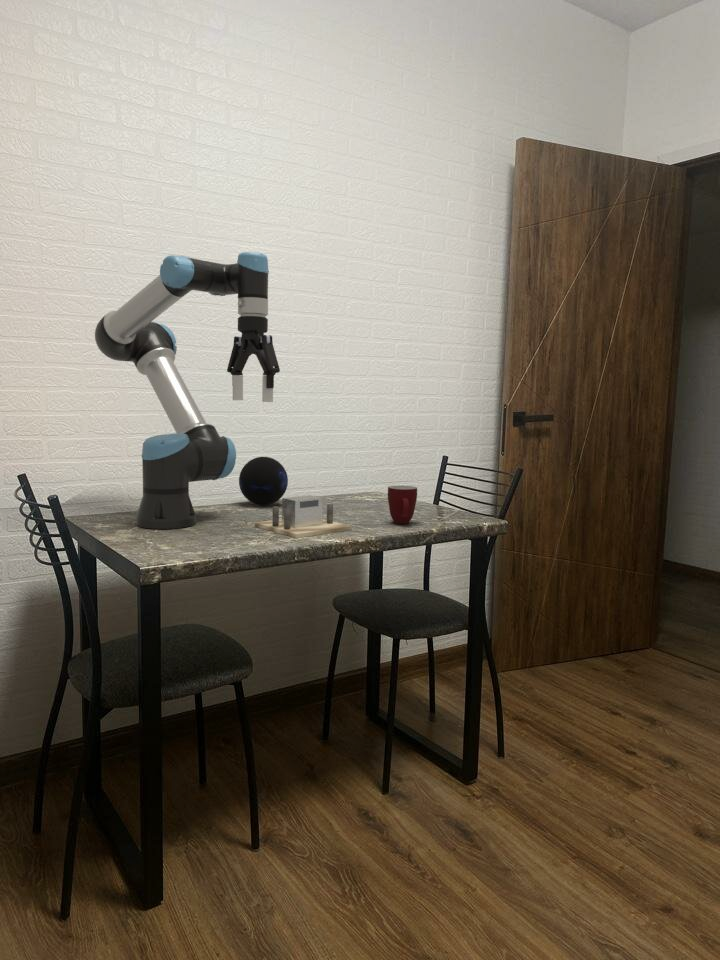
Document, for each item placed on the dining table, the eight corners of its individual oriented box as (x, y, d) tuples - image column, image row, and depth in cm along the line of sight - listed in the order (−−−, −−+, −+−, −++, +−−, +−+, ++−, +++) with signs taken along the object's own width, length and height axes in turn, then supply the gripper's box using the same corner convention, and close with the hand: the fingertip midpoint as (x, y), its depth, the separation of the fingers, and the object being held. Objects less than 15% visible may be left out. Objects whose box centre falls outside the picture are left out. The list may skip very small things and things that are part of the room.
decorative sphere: (288, 508, 221) (289, 459, 219) (238, 508, 219) (238, 458, 217) (286, 501, 236) (287, 454, 234) (239, 501, 234) (239, 454, 232)
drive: (282, 524, 190) (282, 498, 189) (309, 521, 196) (309, 495, 195) (295, 528, 186) (295, 500, 185) (322, 524, 192) (322, 497, 191)
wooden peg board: (254, 526, 192) (254, 503, 191) (308, 519, 204) (309, 498, 203) (296, 538, 179) (296, 513, 178) (351, 529, 191) (352, 507, 190)
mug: (423, 527, 197) (424, 490, 195) (394, 528, 195) (395, 490, 193) (410, 520, 207) (411, 485, 205) (383, 521, 205) (384, 485, 203)
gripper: (213, 317, 191) (214, 399, 194) (269, 312, 173) (268, 402, 176) (238, 320, 196) (238, 399, 199) (294, 314, 178) (293, 402, 181)
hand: (252, 401), depth 187 cm, fingers open, 13 cm apart
